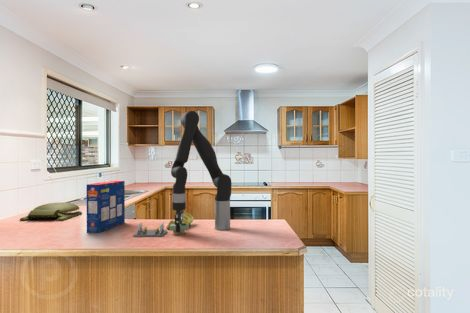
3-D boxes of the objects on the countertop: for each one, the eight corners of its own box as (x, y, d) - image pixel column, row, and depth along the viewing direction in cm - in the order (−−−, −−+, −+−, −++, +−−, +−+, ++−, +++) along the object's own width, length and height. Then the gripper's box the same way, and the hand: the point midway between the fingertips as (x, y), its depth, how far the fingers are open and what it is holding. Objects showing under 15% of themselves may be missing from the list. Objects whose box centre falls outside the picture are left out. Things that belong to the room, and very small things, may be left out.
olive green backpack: (62, 221, 221) (62, 207, 221) (17, 221, 221) (17, 207, 221) (86, 212, 256) (86, 200, 256) (47, 212, 256) (47, 200, 256)
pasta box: (113, 222, 216) (113, 180, 216) (124, 223, 215) (124, 180, 215) (86, 232, 189) (86, 184, 189) (99, 233, 187) (98, 184, 187)
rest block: (185, 233, 187) (185, 227, 187) (183, 234, 183) (183, 229, 183) (174, 233, 187) (174, 227, 187) (173, 234, 184) (173, 229, 184)
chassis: (167, 231, 190) (167, 221, 190) (162, 236, 178) (162, 225, 178) (139, 231, 191) (139, 221, 191) (133, 236, 179) (133, 225, 179)
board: (188, 227, 188) (188, 222, 188) (187, 229, 182) (187, 224, 182) (171, 227, 188) (171, 222, 188) (169, 229, 182) (169, 224, 182)
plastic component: (183, 226, 193) (169, 218, 195) (179, 237, 194) (165, 229, 196) (196, 218, 212) (183, 210, 214) (191, 227, 213) (179, 220, 215)
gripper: (183, 203, 178) (183, 233, 178) (187, 199, 192) (187, 227, 192) (169, 203, 178) (169, 233, 178) (175, 199, 192) (175, 227, 193)
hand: (179, 230), depth 185 cm, fingers open, 6 cm apart
